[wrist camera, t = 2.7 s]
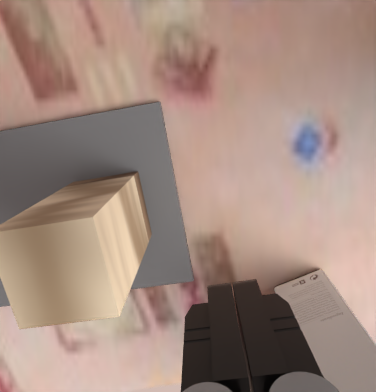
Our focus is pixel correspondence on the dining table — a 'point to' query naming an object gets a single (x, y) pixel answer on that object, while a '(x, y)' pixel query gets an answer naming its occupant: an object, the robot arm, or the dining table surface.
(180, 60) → the dining table surface
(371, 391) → the skincare box
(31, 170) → the mat
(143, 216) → the birch block
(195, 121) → the dining table surface
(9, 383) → the dining table surface
